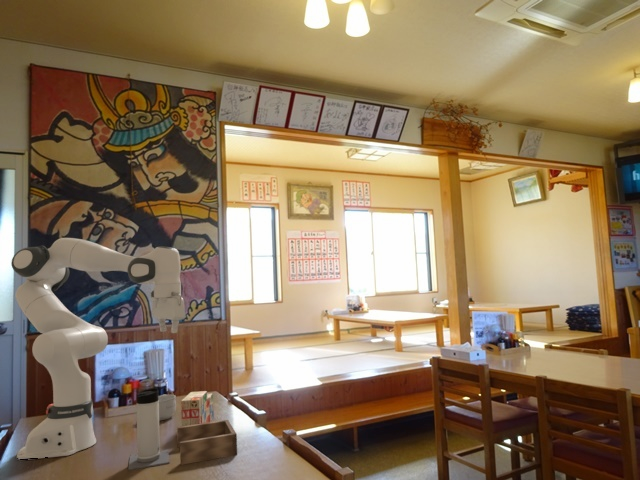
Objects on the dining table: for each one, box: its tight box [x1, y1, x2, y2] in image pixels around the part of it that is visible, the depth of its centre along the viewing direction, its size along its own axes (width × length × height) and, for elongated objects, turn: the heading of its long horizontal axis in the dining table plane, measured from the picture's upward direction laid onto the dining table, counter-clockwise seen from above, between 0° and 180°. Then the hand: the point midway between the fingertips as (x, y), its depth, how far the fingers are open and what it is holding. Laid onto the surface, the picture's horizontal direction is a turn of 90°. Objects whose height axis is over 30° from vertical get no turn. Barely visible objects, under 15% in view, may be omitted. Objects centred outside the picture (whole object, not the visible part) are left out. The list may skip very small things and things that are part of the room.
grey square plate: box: [128, 449, 170, 471], centre depth 136 cm, size 11×11×1 cm
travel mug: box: [136, 387, 161, 463], centre depth 137 cm, size 6×7×20 cm
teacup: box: [158, 394, 177, 421], centre depth 182 cm, size 14×11×8 cm
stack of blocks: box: [180, 390, 215, 427], centre depth 168 cm, size 21×6×12 cm, turn 0°
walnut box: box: [176, 419, 238, 466], centre depth 142 cm, size 16×16×6 cm
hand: (168, 332), depth 159 cm, fingers open, 8 cm apart
